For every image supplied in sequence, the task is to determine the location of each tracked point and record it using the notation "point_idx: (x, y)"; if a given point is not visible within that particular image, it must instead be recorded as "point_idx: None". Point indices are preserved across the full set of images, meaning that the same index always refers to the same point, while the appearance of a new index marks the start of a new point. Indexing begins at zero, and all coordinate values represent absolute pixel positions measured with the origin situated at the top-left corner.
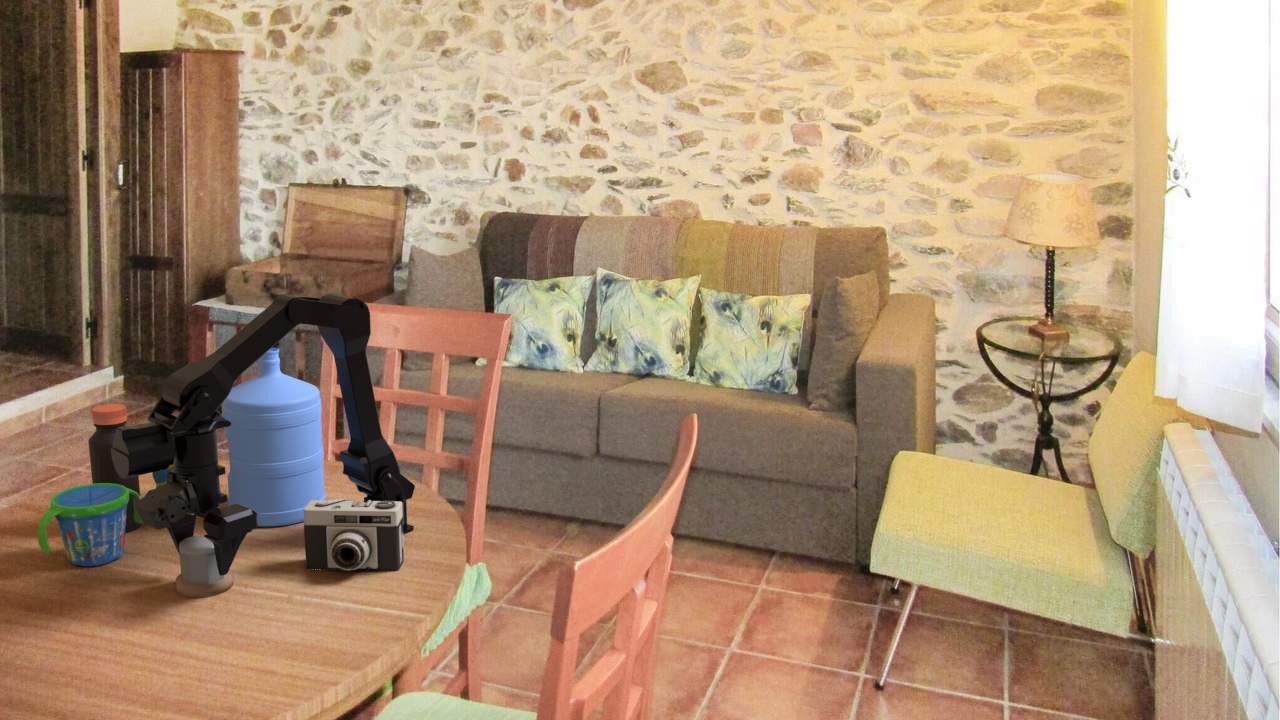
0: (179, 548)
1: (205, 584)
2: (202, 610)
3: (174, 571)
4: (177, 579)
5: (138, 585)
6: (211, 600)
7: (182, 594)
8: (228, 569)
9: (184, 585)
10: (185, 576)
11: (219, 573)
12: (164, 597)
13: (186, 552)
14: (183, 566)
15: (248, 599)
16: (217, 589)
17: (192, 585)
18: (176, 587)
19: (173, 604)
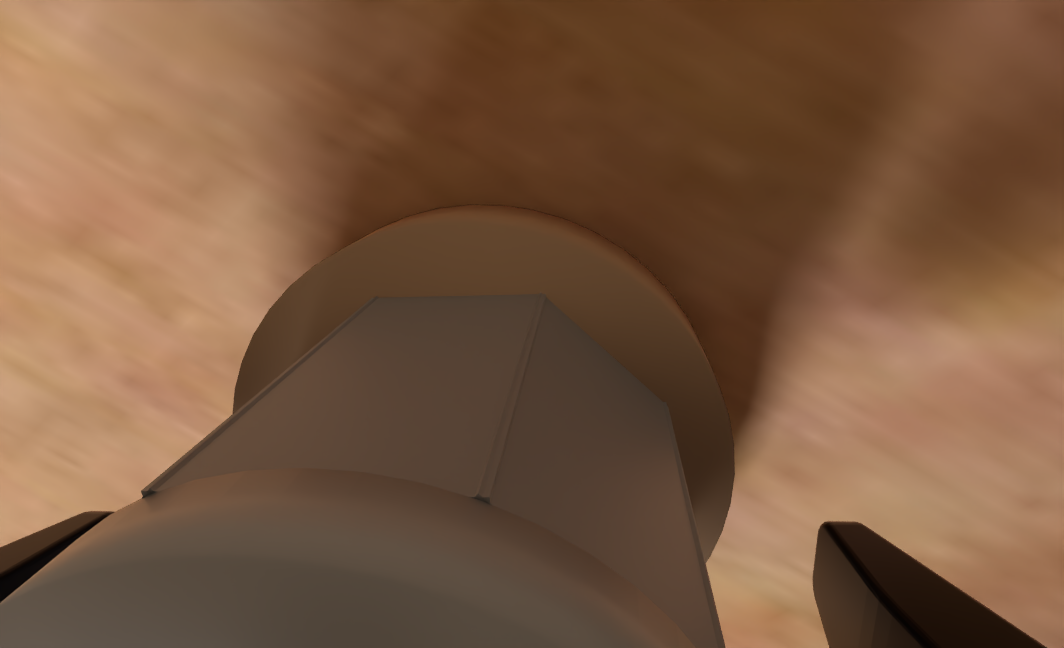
0: (467, 551)
1: None
2: (74, 164)
3: (986, 438)
4: (610, 284)
5: (1044, 39)
6: (214, 313)
7: (443, 208)
8: None
9: (413, 249)
10: (452, 318)
11: (88, 519)
12: (546, 76)
13: (150, 517)
14: (444, 365)
15: (79, 474)
16: None
17: (354, 298)
18: (567, 228)
19: (340, 53)
